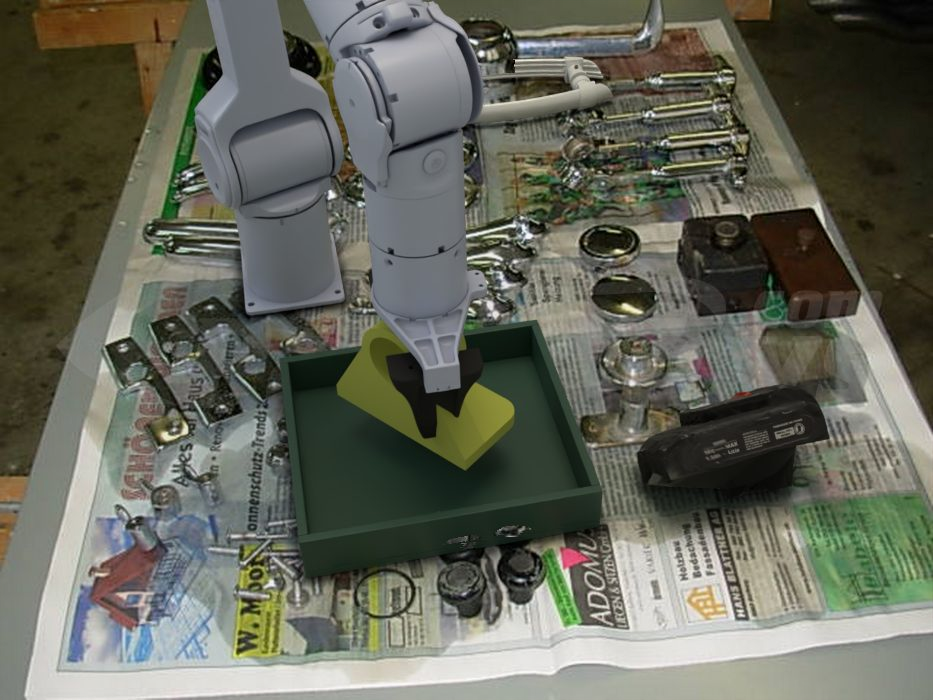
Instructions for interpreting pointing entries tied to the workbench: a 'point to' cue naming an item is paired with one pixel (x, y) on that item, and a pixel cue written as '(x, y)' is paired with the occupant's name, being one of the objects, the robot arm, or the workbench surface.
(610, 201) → the workbench surface
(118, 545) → the workbench surface
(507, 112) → the door handle
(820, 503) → the workbench surface
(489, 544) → the parts tray
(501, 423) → the bracket
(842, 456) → the workbench surface
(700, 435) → the battery
